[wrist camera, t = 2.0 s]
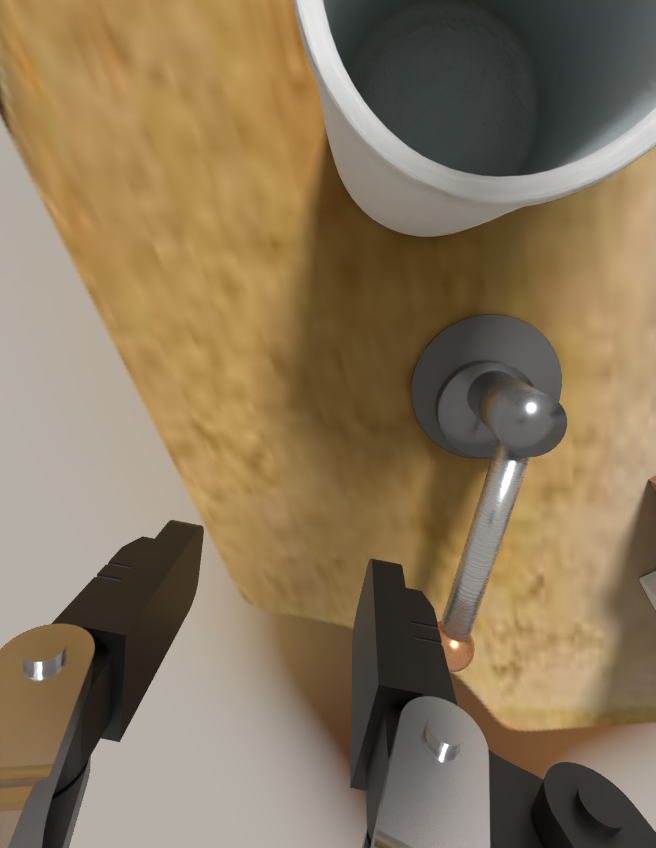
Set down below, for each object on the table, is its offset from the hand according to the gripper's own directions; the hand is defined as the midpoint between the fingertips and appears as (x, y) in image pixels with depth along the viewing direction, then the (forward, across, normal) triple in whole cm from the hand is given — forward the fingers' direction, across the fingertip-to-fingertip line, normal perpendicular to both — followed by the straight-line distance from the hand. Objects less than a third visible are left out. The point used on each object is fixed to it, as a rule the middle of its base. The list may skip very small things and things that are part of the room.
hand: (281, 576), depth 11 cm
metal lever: (+24, +11, -7) cm, 28 cm away
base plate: (+25, +11, +1) cm, 28 cm away
